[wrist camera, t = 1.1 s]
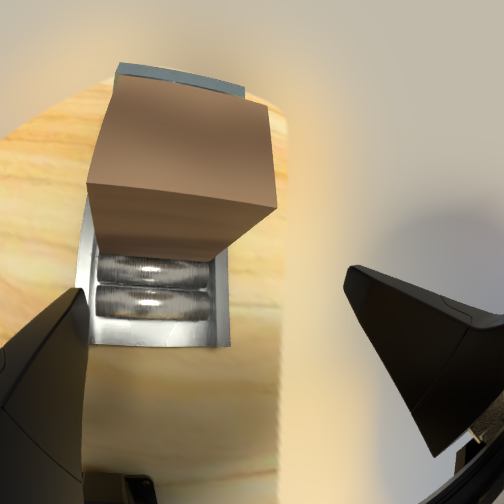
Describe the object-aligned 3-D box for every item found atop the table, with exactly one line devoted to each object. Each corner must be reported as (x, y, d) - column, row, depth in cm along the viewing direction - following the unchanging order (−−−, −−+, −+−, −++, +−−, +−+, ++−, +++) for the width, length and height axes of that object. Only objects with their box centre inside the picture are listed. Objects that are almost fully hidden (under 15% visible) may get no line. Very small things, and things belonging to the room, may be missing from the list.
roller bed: (216, 345, 18) (256, 348, 13) (80, 341, 15) (61, 346, 10) (215, 134, 23) (244, 86, 18) (112, 117, 19) (120, 62, 14)
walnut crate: (208, 262, 17) (277, 208, 10) (99, 253, 14) (86, 182, 7) (209, 186, 18) (267, 105, 11) (111, 174, 16) (120, 75, 9)
